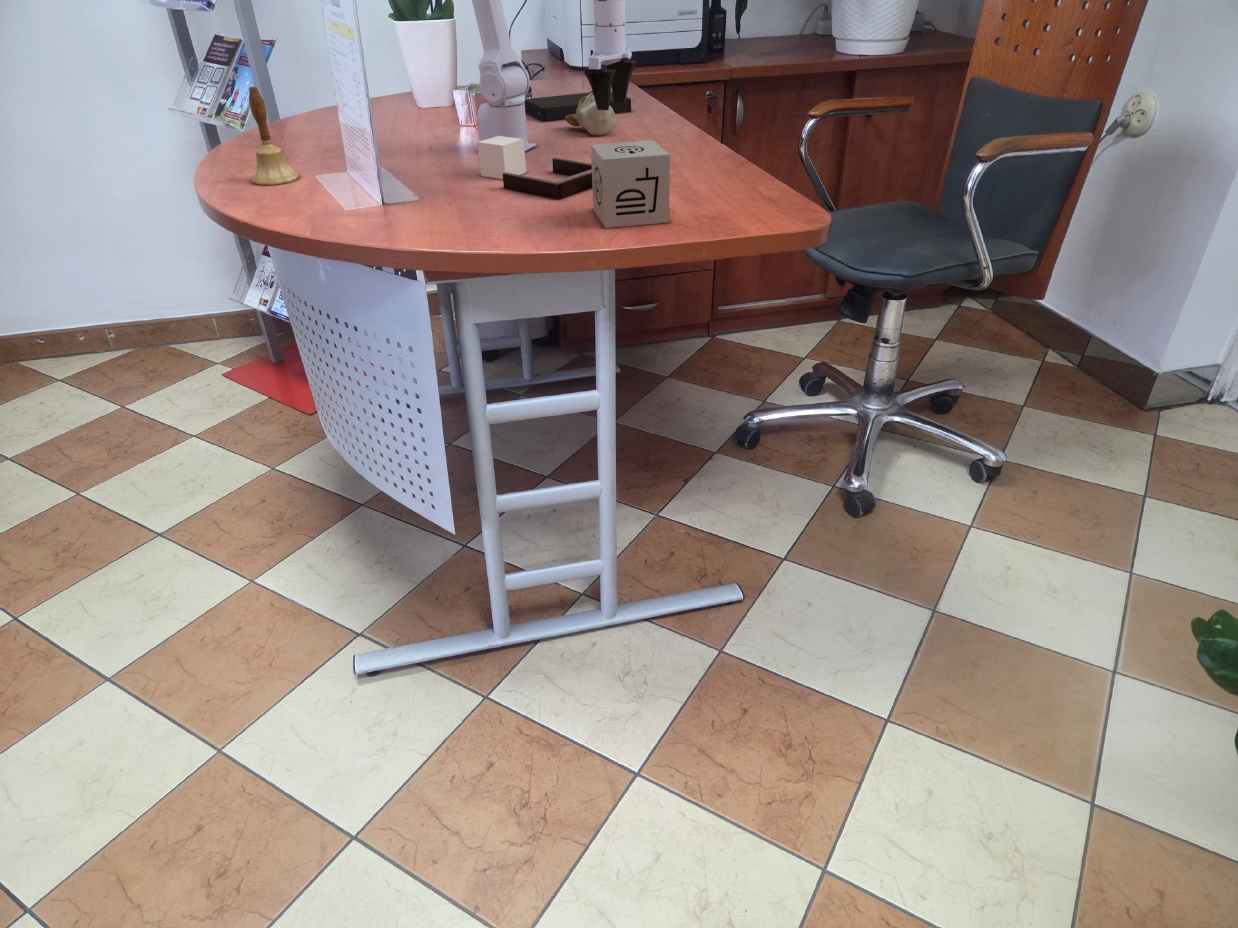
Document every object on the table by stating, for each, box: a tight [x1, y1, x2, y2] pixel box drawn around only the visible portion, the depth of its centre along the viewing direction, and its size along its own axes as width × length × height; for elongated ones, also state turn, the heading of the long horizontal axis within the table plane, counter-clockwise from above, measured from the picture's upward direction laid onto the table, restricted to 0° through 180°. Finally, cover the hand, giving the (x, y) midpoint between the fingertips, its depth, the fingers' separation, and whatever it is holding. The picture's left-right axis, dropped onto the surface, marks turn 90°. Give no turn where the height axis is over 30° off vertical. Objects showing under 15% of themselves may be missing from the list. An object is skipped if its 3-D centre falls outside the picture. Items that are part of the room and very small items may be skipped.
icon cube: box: [590, 139, 671, 229], centre depth 124 cm, size 10×10×10 cm
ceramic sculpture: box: [564, 90, 617, 137], centre depth 178 cm, size 11×9×15 cm
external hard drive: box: [524, 91, 632, 123], centre depth 199 cm, size 14×23×3 cm, turn 115°
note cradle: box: [502, 157, 593, 200], centre depth 142 cm, size 13×14×3 cm
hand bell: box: [248, 85, 299, 186], centre depth 146 cm, size 8×8×16 cm
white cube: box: [477, 136, 527, 180], centre depth 149 cm, size 6×6×6 cm
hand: (611, 106), depth 152 cm, fingers open, 7 cm apart
